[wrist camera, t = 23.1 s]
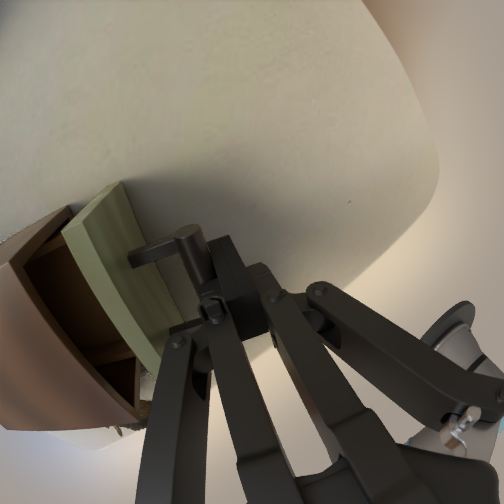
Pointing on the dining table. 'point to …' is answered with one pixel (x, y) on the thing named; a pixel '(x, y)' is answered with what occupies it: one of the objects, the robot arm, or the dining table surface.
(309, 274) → the dining table surface
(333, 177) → the dining table surface
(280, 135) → the dining table surface
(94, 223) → the drawer
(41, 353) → the cabinet
